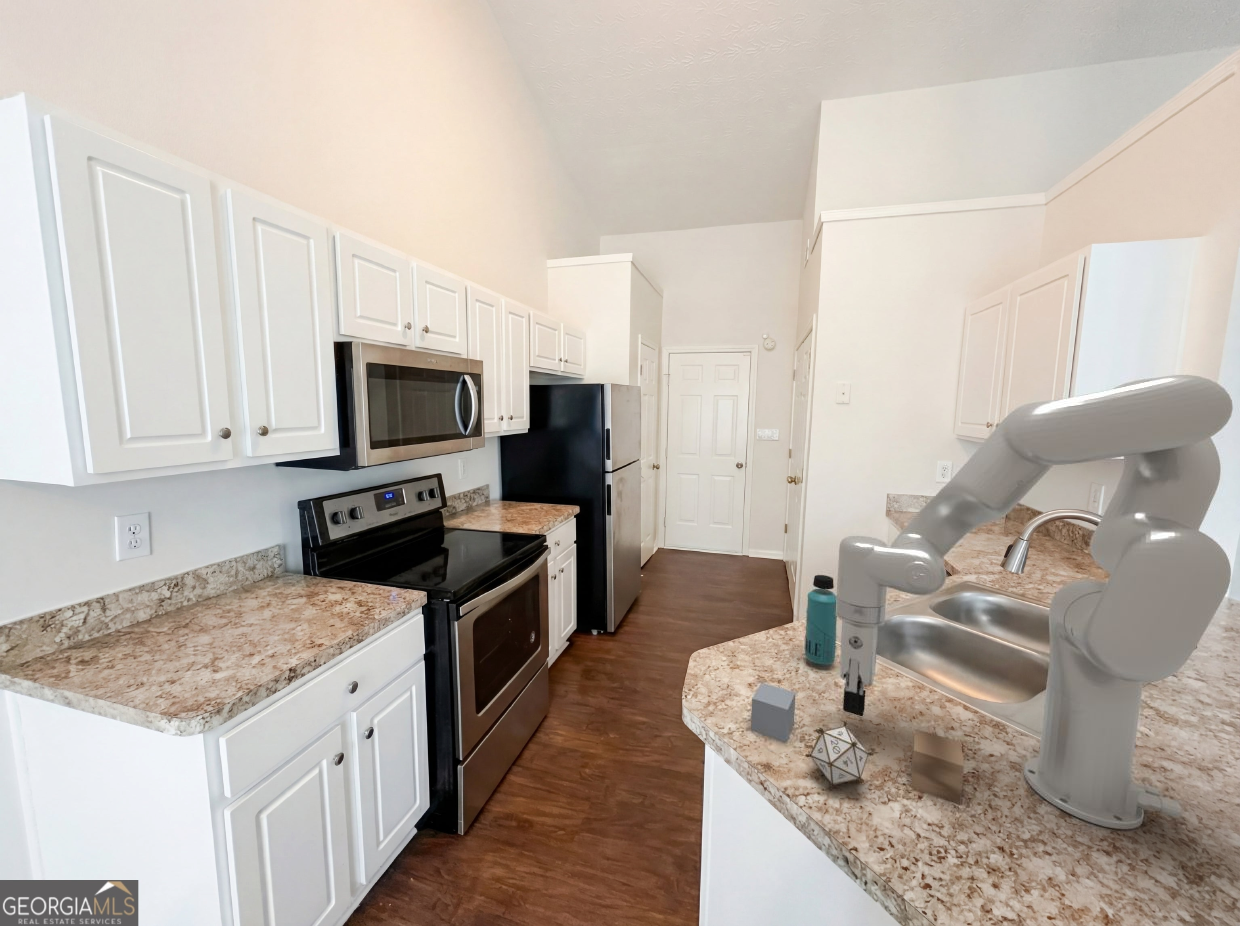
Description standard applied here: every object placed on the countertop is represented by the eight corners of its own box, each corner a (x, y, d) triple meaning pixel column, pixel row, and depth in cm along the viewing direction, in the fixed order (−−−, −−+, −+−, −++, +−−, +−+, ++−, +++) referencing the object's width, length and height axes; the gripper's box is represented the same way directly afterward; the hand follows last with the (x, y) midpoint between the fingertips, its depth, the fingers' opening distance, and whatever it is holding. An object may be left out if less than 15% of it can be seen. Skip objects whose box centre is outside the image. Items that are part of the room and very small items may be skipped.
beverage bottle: (837, 662, 108) (842, 575, 106) (832, 675, 103) (837, 583, 101) (806, 654, 112) (811, 569, 110) (800, 666, 106) (805, 577, 104)
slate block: (793, 724, 86) (795, 692, 85) (786, 743, 81) (787, 709, 80) (760, 713, 89) (761, 682, 89) (750, 730, 84) (752, 698, 83)
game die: (849, 810, 72) (887, 790, 65) (794, 782, 73) (826, 760, 67) (849, 749, 79) (883, 725, 72) (798, 725, 80) (828, 700, 73)
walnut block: (957, 779, 73) (960, 742, 73) (960, 805, 68) (963, 766, 68) (911, 763, 77) (914, 728, 76) (911, 788, 72) (913, 750, 71)
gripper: (882, 631, 74) (874, 743, 76) (887, 600, 87) (880, 697, 88) (829, 620, 78) (823, 727, 80) (841, 592, 91) (836, 685, 92)
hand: (853, 711), depth 84 cm, fingers closed
